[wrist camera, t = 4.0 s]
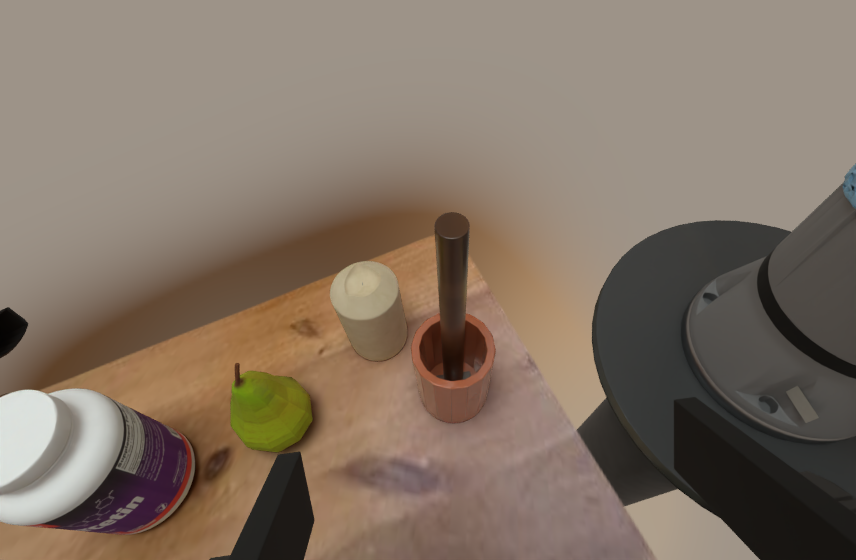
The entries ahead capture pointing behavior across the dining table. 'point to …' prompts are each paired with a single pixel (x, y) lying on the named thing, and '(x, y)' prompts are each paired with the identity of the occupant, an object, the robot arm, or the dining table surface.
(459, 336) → the stirring stick
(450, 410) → the crock
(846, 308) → the robot arm
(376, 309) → the candle
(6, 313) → the binoculars
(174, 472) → the pill bottle
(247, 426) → the fruit
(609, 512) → the dining table surface
